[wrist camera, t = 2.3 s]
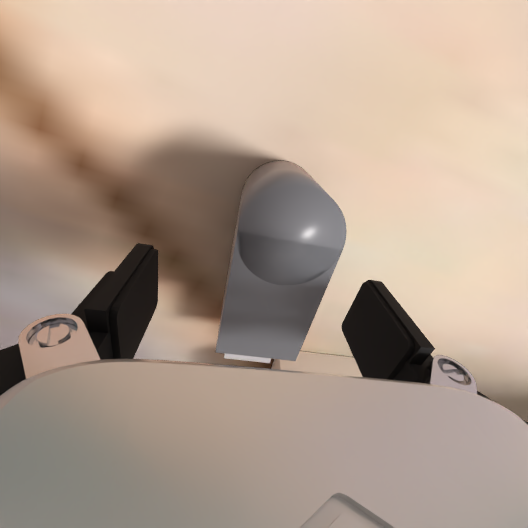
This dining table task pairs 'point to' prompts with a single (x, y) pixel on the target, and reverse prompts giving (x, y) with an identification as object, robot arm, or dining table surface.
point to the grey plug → (278, 263)
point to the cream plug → (320, 364)
